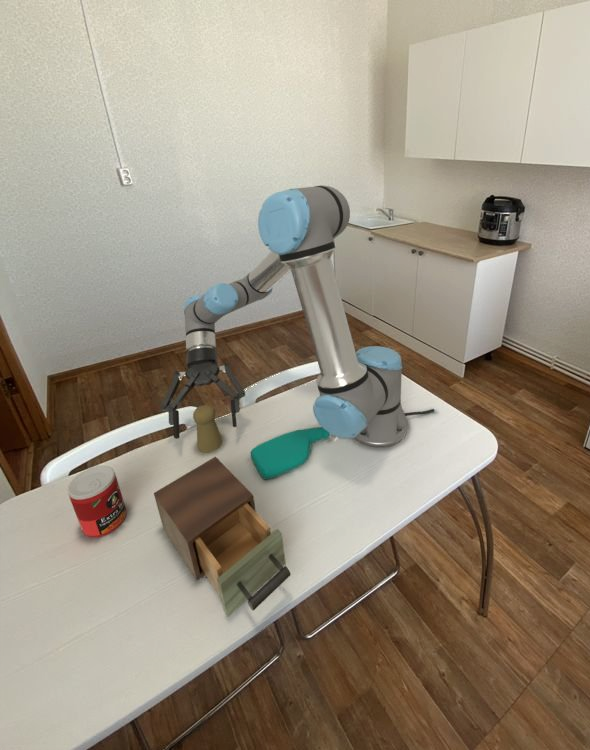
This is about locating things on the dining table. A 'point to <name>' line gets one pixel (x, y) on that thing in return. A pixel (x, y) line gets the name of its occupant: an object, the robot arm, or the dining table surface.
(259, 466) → the spray bottle
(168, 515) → the cabinet
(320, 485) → the dining table surface
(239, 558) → the drawer
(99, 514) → the canned food
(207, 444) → the cork
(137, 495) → the dining table surface
